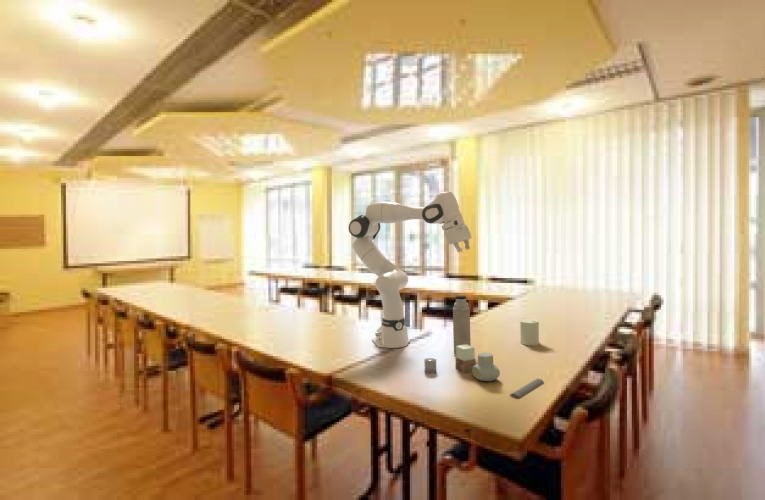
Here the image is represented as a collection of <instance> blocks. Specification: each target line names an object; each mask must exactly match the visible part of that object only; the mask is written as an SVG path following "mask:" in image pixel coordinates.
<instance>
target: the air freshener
mask: <svg viewBox="0 0 765 500" xmlns="http://www.w3.org/2000/svg"><path fill="white" fill-rule="evenodd" d="M471 372H472V375H473V376H474V377H475V378H476V379H477V380H479V381H480V382H493V381H495V380H497V379H498V378H499V377H500V375H501V374H500V373H501V371H500V369H499V367H498V366H497V365H496V364H494V354H492V353H490V352H480V353H478V355H477V363H476V365H475V366H474V367H473V368H472V371H471Z"/></svg>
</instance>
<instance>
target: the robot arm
mask: <svg viewBox="0 0 765 500" xmlns="http://www.w3.org/2000/svg"><path fill="white" fill-rule="evenodd" d="M409 220H423V221H424V222H425V223H427V224H430V225H431V224H432V225H434V224H436V225H437V224H439V225H441V230H442V231H443V232H444V236H445V239H446V241H447V243H448V245H453V246H454V248H455V249H456V251H457V253H461V252H463V249H462V247H460V242H463V243H464V248H465V250H466V251H467V250H470V249H471V247H470V241H469V240H471V239H472V234H471V230H470V229H469V227H468V225H467V224H465V221H464V218H463V214H462V213H461V211H460V206H459V203H458V200H457V197H456V196H455V194H454V193H453V192H452V191H443V192H439V193H438V194H436V196H435V198H434V199H433V200H432V201H431V202H429V204H427V205H425V206H424V207H420V206H418V207H415V206H409V205H405V204H402V203H398V202H391V201H379V202H378V201H377V202H373V203H372V202H371V203H370V204H369V205H367V206H366V209H365V214H361V215H358V216H357V217H355V218H353V219H352V220H351V221H350V222H349V224H348V232H349V234H350V235H351V236H352V237H354V238H355V240H354V241H353V243H352V248H353V250H354V252H355V254H356V255H357V257H358V258H359V260H360V261H361V262H362V263H363V264H364V266H365V267H366V268H367V269H368V270H369V272H370V273H372V274H375V275H376V276H377V278H376V279H375V282H374V285H375V288H376V290H377V291H378V293H379V296H380V299H381V304H382V317H381V325H380V326H379V327H378V328H377V329H376V332H375V337H372V342H373V343H374V344H375V345H376V346H377V347H378V348H388V349H391V348H392V349H397V348H403V347H406V346H408V345H409V343H411V339H409V333H408V328H407V326H406V325H405V324H406V318H405V310H404V309H405V304H404V301H403V300H402V298H401V294H400V291H401V290H403V289H404V288H405V287H406V286H407V285H408V282H409V276H408V274H407V273H406V272H405V271H403V270H401V269H400V268H399V267H397V266H396V265H395V264H394V263H392V262H391V261H390V260H389V259H388V258H387V257H386V256H385V255H384V253H382V251H381V250H380V249H379V248H378V247H377V246H376V244H375V243H374V241H373V240H375V239H376V237H377V235H378V234H379V232H380V230H381V224H394V223H400V222H405V221H409Z"/></svg>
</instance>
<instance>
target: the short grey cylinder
mask: <svg viewBox="0 0 765 500" xmlns="http://www.w3.org/2000/svg"><path fill="white" fill-rule="evenodd" d="M424 373H426V374H435V373H437V359H436V358H434V357H428V358H424Z"/></svg>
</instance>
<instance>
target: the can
mask: <svg viewBox="0 0 765 500" xmlns="http://www.w3.org/2000/svg"><path fill="white" fill-rule="evenodd" d="M519 324H520V327H519V329H520V340H519V342H520V344H522V345H525V346H537V345H538V346H539V345H540V338H539V337H540V336H539V334H540V332H539V331H540V329H539V325H540V322H539V320H537V319H535V318H534V319H533V318H532V319H531V318H522V319H520V320H519Z"/></svg>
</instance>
